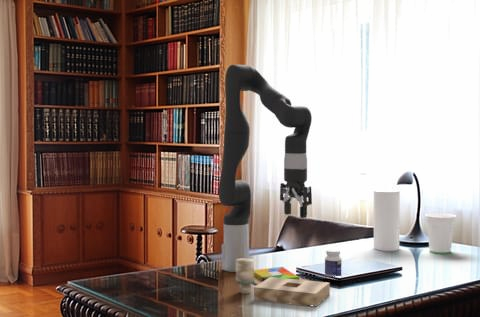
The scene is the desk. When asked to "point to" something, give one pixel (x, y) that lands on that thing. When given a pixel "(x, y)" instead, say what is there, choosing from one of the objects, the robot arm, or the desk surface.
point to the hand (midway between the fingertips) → (295, 216)
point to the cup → (440, 232)
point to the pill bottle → (332, 263)
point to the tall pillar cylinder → (386, 219)
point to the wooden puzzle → (273, 274)
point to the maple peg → (245, 274)
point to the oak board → (292, 291)
